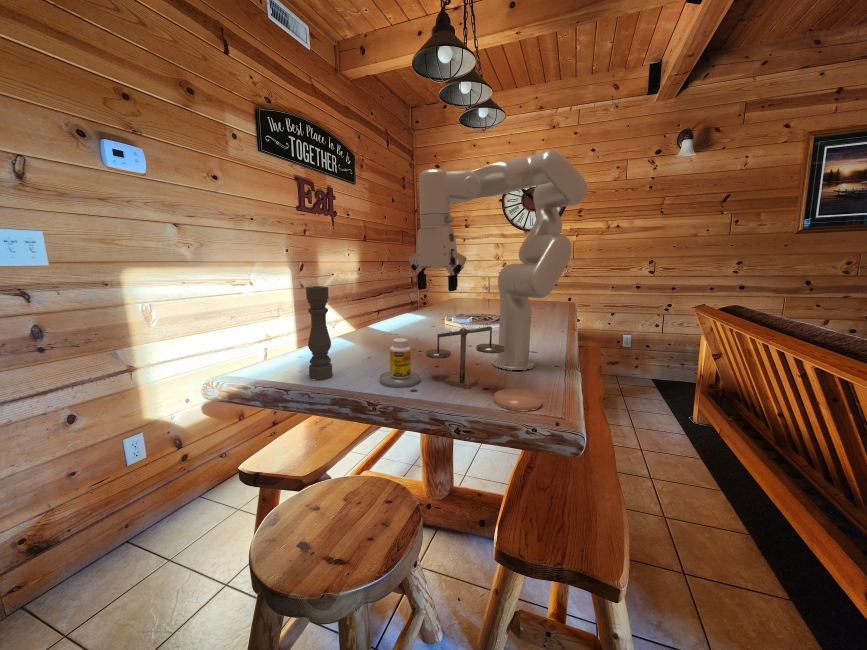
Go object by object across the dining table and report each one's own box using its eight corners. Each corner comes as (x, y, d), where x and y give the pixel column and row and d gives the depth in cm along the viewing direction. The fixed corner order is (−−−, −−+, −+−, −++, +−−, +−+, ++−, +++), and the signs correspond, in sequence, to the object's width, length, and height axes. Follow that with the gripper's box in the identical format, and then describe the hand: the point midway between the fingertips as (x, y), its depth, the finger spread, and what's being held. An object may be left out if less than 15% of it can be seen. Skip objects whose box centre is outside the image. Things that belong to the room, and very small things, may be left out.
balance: (434, 372, 108) (434, 317, 105) (506, 387, 96) (509, 325, 93) (420, 378, 102) (420, 320, 99) (495, 396, 90) (498, 330, 87)
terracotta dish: (504, 390, 94) (504, 385, 94) (547, 399, 88) (548, 394, 88) (486, 404, 85) (486, 399, 85) (532, 415, 79) (533, 410, 79)
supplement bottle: (391, 380, 97) (391, 342, 95) (388, 374, 102) (388, 338, 100) (412, 378, 98) (412, 341, 96) (408, 372, 103) (408, 337, 102)
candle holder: (306, 380, 100) (301, 288, 95) (313, 373, 106) (308, 286, 101) (329, 380, 100) (325, 288, 95) (334, 373, 106) (331, 286, 101)
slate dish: (396, 372, 108) (396, 368, 107) (427, 379, 102) (427, 374, 102) (370, 382, 99) (370, 378, 98) (403, 390, 93) (403, 386, 92)
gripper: (472, 221, 91) (472, 289, 95) (416, 225, 101) (419, 287, 104) (456, 219, 85) (458, 293, 89) (399, 224, 95) (402, 290, 98)
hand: (437, 289), depth 97 cm, fingers open, 9 cm apart
